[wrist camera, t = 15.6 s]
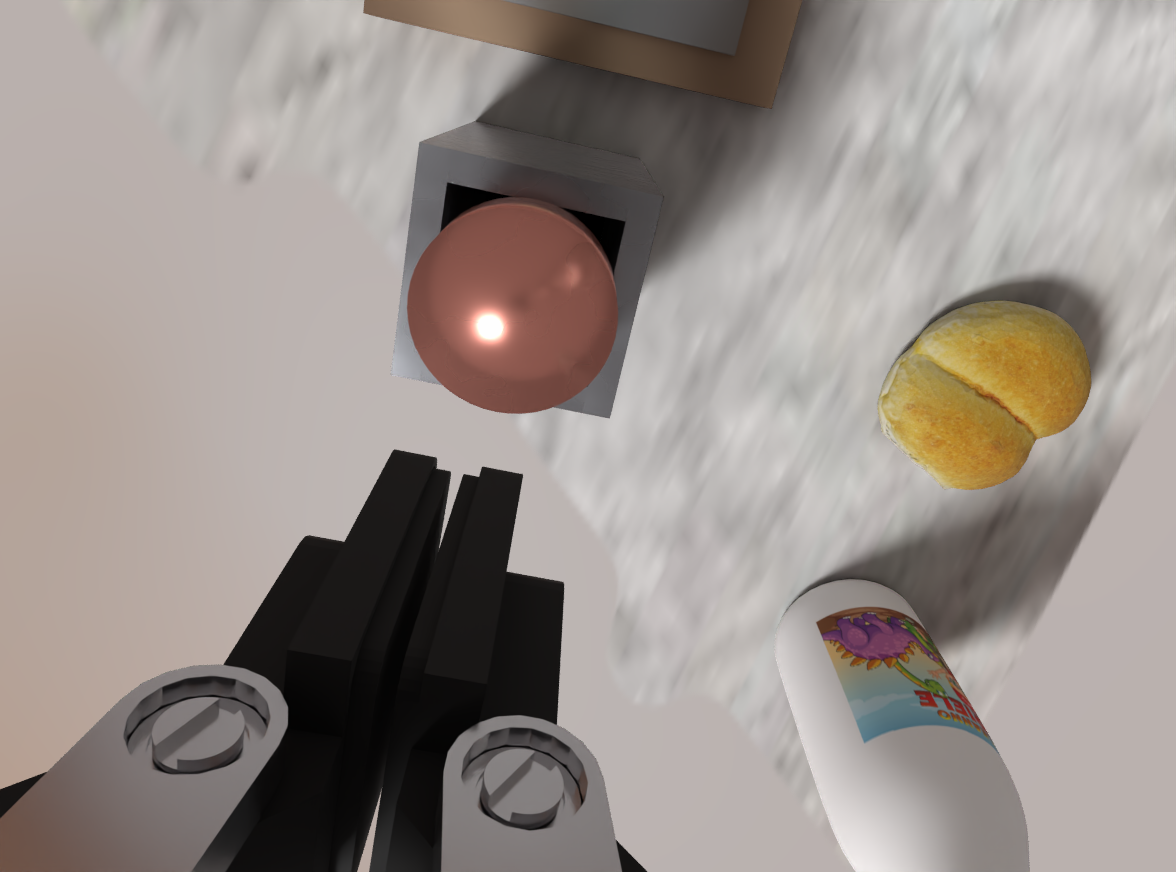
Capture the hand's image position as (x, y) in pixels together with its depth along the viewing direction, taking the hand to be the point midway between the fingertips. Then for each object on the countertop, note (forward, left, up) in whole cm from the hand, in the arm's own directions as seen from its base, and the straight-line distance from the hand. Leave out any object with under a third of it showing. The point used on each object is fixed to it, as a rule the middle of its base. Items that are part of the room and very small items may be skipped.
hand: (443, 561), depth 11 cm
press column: (0, 0, -27) cm, 27 cm away
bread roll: (-21, +3, -27) cm, 35 cm away
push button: (0, 0, -21) cm, 21 cm away
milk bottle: (-20, +18, -27) cm, 38 cm away
